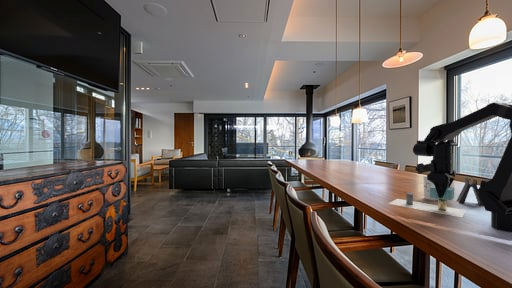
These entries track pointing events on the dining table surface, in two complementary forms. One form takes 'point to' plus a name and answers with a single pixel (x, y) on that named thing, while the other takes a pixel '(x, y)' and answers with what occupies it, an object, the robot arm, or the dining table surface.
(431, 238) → the dining table surface
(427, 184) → the ink cartridge box
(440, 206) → the cylinder
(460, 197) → the phone stand
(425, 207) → the board
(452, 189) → the collar
